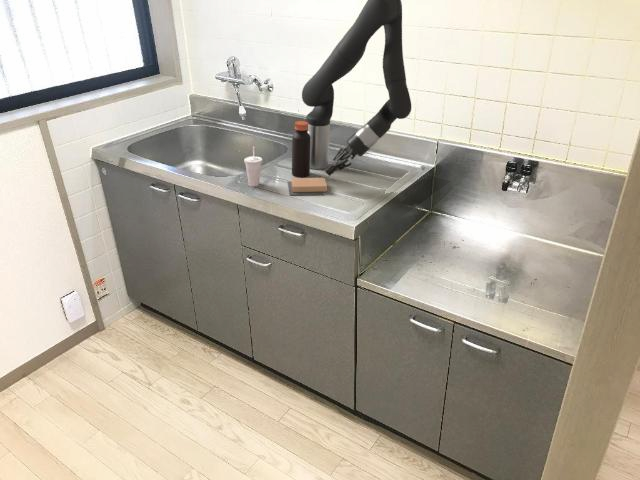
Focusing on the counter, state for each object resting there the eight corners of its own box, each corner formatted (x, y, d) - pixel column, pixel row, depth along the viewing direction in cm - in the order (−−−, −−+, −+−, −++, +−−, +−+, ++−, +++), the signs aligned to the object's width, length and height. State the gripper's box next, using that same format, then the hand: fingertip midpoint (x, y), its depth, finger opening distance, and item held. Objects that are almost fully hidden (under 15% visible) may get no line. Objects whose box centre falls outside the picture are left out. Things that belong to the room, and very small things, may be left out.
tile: (323, 177, 195) (291, 178, 193) (327, 186, 188) (293, 186, 186) (323, 183, 196) (291, 183, 194) (326, 192, 189) (292, 192, 187)
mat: (319, 182, 198) (319, 181, 198) (324, 195, 187) (324, 194, 187) (287, 182, 196) (287, 181, 196) (290, 195, 186) (290, 194, 186)
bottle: (302, 179, 200) (304, 126, 191) (288, 174, 203) (288, 123, 194) (312, 173, 205) (314, 122, 196) (298, 169, 208) (299, 119, 199)
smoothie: (265, 182, 195) (265, 145, 189) (258, 189, 190) (257, 151, 183) (249, 180, 197) (248, 143, 191) (242, 186, 192) (240, 148, 185)
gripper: (353, 127, 190) (317, 160, 194) (359, 138, 178) (322, 173, 182) (366, 141, 193) (331, 173, 197) (374, 153, 181) (336, 187, 185)
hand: (327, 173), depth 190 cm, fingers closed
